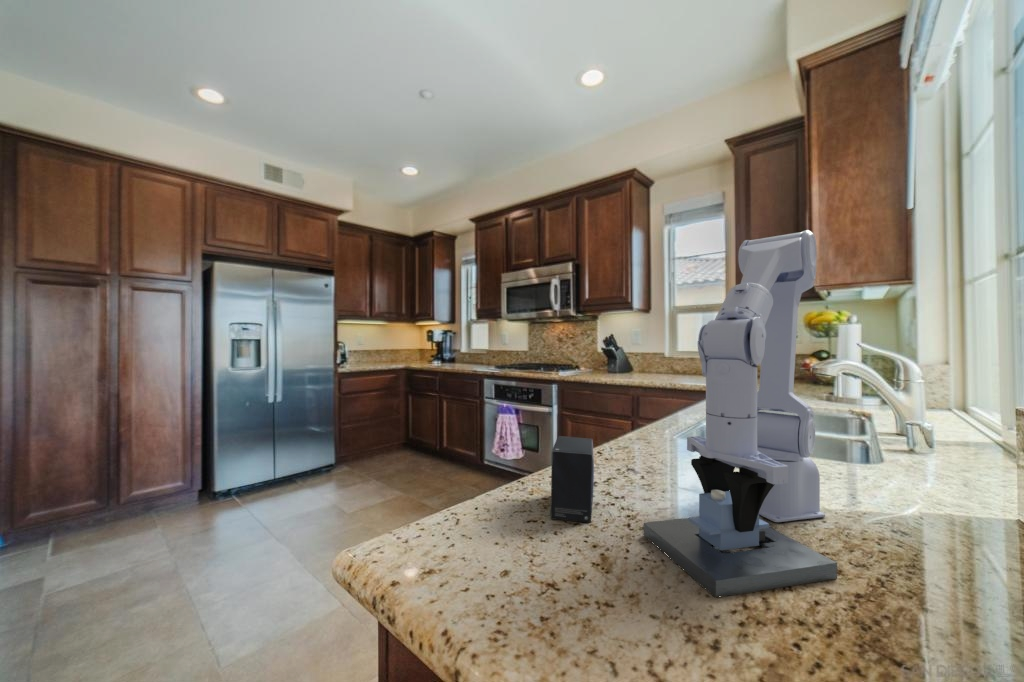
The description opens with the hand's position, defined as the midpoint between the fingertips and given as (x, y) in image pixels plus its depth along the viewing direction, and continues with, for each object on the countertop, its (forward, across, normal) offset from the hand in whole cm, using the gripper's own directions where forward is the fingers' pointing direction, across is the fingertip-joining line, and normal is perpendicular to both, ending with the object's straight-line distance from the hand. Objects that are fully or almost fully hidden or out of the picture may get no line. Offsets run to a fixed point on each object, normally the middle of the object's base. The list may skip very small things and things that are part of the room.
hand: (730, 522), depth 51 cm
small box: (+4, -18, -14) cm, 23 cm away
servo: (+2, 0, 0) cm, 2 cm away
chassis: (+4, 0, 0) cm, 4 cm away
